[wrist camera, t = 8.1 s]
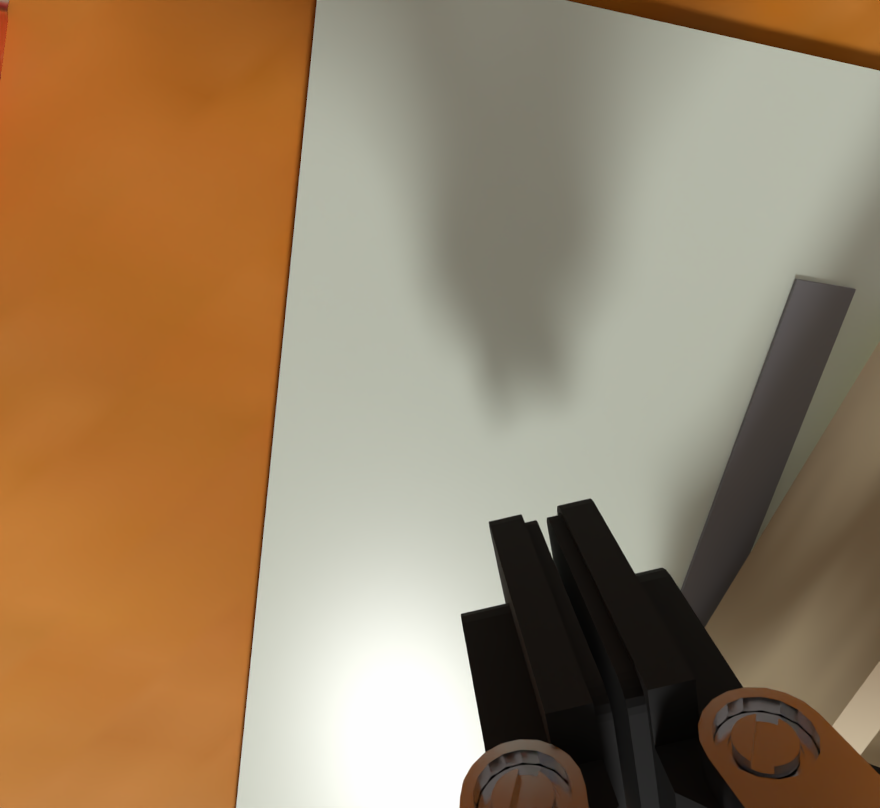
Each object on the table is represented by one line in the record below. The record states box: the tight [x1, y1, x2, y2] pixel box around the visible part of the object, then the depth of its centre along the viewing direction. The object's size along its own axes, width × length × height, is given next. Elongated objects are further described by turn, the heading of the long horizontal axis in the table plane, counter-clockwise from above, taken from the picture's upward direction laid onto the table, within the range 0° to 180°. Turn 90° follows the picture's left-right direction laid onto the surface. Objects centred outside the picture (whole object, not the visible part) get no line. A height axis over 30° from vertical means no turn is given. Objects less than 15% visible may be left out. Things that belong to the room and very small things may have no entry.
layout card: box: [236, 0, 880, 808], centre depth 16 cm, size 21×18×1 cm
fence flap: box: [705, 341, 880, 755], centre depth 13 cm, size 8×1×4 cm, turn 160°
